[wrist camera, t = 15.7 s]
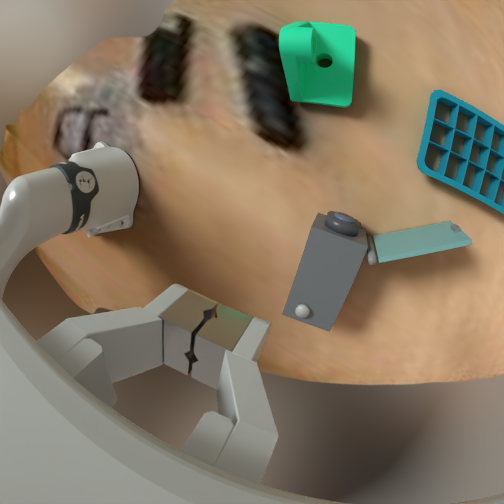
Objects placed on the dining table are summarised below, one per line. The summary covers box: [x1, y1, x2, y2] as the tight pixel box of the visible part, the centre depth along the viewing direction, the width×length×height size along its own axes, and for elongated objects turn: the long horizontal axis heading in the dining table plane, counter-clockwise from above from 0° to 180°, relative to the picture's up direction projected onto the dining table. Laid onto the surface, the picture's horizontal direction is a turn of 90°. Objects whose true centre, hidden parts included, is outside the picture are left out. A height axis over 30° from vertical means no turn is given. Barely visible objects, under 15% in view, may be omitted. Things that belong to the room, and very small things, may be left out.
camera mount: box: [279, 21, 355, 108], centre depth 24 cm, size 12×8×10 cm, turn 174°
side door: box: [366, 221, 472, 266], centre depth 29 cm, size 13×1×8 cm, turn 108°
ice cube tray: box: [417, 90, 504, 214], centre depth 24 cm, size 12×20×3 cm, turn 78°
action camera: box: [282, 211, 368, 332], centre depth 35 cm, size 15×7×8 cm, turn 167°
